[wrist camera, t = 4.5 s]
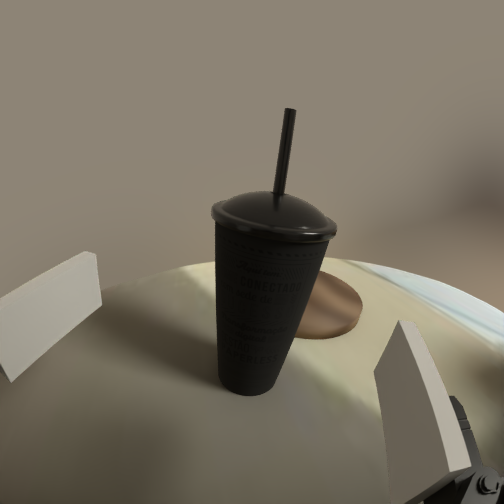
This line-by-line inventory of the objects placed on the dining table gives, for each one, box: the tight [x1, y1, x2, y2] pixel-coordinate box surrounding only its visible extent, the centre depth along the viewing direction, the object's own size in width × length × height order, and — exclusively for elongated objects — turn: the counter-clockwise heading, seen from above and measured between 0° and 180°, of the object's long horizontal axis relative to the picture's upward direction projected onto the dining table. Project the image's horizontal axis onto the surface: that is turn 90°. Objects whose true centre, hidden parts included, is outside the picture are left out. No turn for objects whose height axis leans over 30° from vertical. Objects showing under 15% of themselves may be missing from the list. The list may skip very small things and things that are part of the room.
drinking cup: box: [211, 108, 337, 396], centre depth 18 cm, size 8×8×20 cm
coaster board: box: [295, 271, 363, 339], centre depth 34 cm, size 16×16×2 cm
